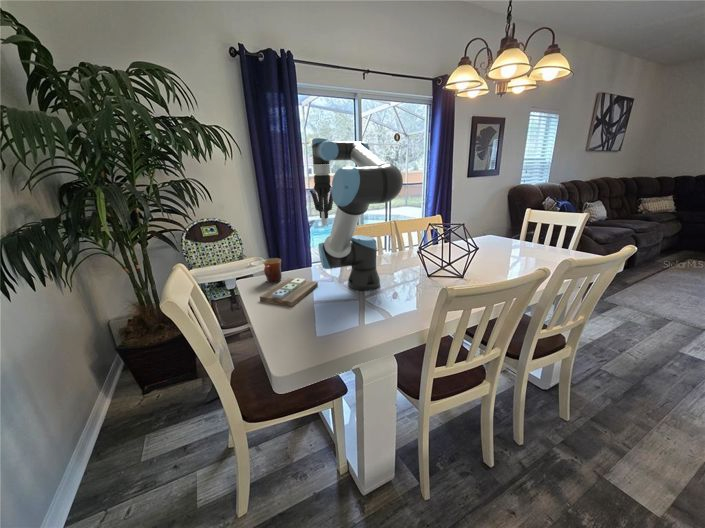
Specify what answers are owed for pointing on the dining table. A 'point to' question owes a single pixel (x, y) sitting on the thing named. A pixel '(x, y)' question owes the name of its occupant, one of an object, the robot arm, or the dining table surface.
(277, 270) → the mug
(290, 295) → the board
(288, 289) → the tile two
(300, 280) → the tile one
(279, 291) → the tile three
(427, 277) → the dining table surface
